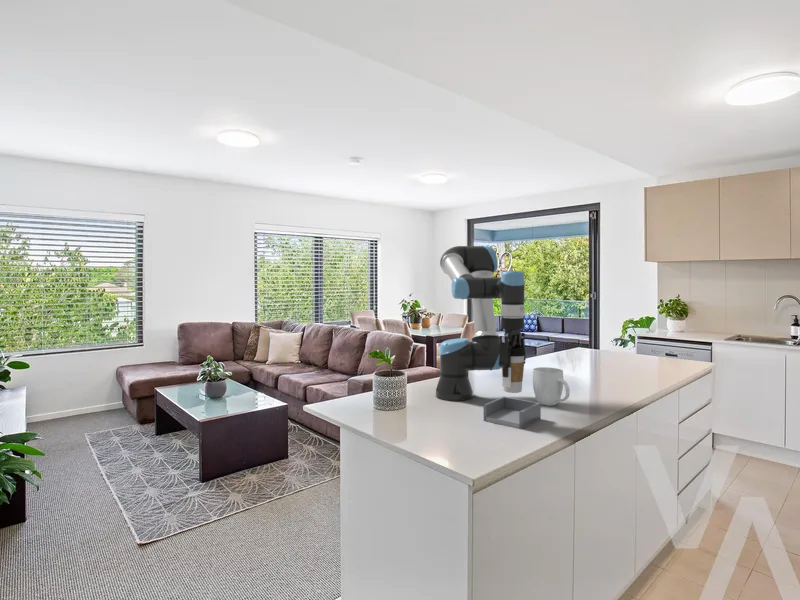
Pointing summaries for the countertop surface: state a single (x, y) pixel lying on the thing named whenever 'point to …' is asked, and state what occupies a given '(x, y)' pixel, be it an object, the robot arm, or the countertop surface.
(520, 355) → the coffee cup
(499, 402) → the dock
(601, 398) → the countertop surface
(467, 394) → the robot arm
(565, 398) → the mug
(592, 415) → the countertop surface
